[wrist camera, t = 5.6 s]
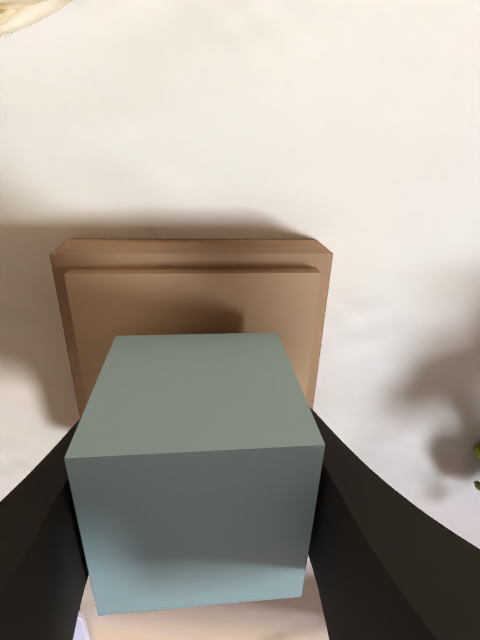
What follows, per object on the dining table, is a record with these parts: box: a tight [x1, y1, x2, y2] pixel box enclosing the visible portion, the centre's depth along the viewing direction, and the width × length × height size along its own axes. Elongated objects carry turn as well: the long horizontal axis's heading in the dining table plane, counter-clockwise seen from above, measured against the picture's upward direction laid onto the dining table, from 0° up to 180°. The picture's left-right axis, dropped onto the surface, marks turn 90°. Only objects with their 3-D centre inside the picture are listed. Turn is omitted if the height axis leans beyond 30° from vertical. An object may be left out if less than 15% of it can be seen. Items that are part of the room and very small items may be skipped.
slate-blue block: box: [64, 333, 325, 616], centre depth 11 cm, size 5×5×5 cm
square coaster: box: [50, 239, 333, 418], centre depth 15 cm, size 9×9×2 cm
